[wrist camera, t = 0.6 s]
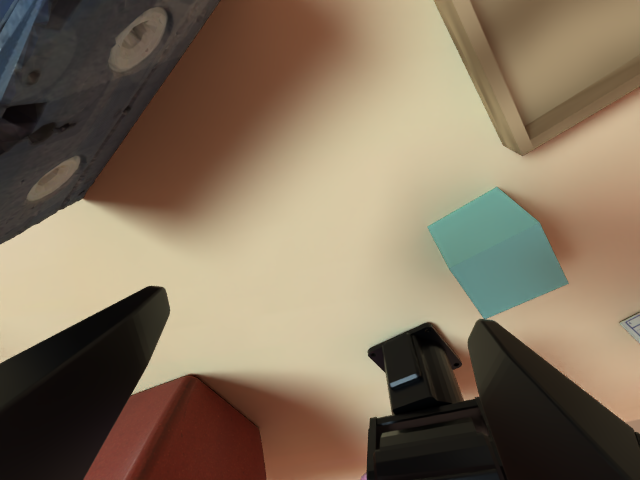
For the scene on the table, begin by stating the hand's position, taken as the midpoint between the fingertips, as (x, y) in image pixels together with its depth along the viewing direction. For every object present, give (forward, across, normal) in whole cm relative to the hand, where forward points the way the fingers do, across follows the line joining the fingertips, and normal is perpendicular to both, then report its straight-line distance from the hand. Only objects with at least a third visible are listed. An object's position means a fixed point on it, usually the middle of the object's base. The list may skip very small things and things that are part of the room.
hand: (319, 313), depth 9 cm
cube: (+13, -11, +3) cm, 17 cm away
